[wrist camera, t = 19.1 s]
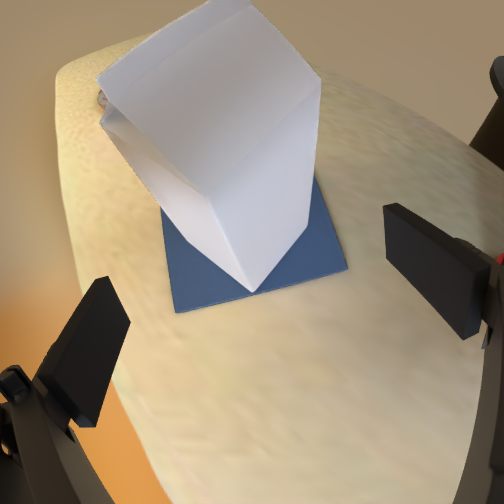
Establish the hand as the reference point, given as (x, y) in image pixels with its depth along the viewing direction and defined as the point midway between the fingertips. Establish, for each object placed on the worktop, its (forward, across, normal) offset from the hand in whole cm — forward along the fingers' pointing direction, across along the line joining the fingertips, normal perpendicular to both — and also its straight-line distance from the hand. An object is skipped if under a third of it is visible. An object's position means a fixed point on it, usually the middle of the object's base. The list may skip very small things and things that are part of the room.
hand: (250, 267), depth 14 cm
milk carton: (+12, 0, -3) cm, 12 cm away
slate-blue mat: (+12, 0, -3) cm, 13 cm away
